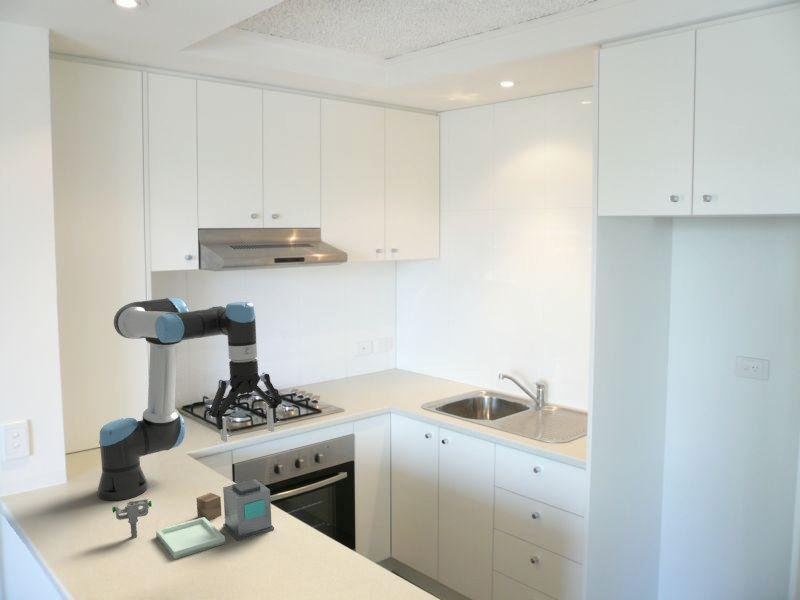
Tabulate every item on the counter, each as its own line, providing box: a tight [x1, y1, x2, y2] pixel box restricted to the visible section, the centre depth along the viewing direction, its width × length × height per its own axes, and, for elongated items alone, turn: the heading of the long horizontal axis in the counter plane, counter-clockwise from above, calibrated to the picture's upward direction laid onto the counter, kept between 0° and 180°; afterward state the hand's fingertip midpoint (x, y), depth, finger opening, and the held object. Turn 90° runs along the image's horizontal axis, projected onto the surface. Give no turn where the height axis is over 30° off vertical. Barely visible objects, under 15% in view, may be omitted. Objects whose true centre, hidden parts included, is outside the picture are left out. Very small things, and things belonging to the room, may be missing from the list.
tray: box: [155, 517, 226, 560], centre depth 197 cm, size 16×14×2 cm
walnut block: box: [196, 492, 222, 522], centre depth 213 cm, size 5×5×6 cm
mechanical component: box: [112, 498, 152, 539], centre depth 200 cm, size 3×10×10 cm, turn 111°
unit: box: [222, 479, 275, 542], centre depth 204 cm, size 11×11×13 cm
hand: (247, 435), depth 194 cm, fingers open, 13 cm apart
